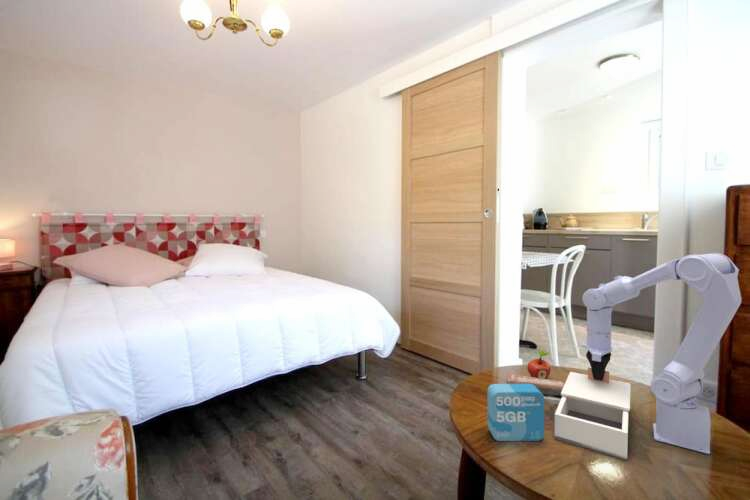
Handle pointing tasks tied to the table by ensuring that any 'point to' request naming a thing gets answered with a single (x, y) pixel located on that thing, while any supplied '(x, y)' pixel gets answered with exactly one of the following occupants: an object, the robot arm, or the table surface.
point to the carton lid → (598, 390)
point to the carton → (592, 426)
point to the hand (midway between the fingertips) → (598, 378)
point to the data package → (515, 412)
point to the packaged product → (541, 387)
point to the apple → (539, 367)
